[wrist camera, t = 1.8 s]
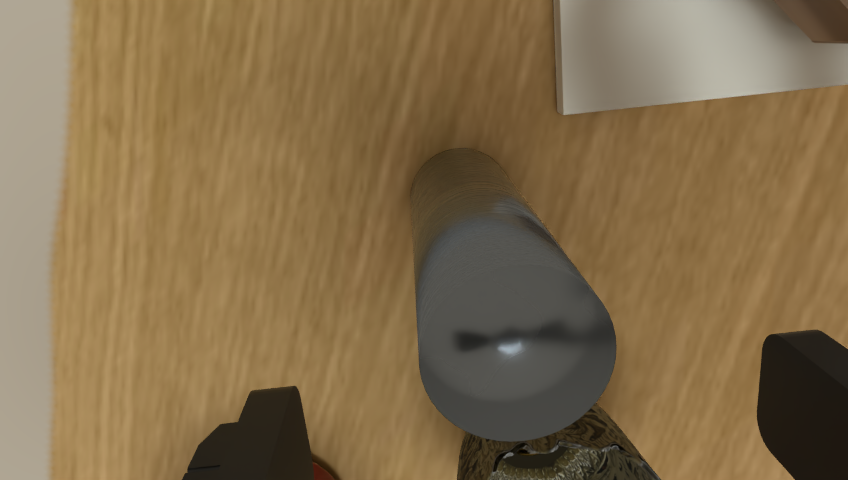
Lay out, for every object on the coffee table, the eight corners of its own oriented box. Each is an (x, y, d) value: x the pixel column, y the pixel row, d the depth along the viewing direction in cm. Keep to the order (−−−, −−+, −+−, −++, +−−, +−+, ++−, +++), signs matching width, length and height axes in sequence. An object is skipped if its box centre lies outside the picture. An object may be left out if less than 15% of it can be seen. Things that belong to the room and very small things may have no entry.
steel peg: (506, 143, 24) (616, 254, 12) (512, 239, 26) (616, 430, 13) (405, 153, 24) (408, 276, 12) (415, 250, 26) (429, 450, 13)
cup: (489, 500, 30) (520, 660, 22) (409, 384, 27) (412, 518, 20) (631, 428, 29) (714, 571, 21) (559, 303, 26) (622, 411, 19)
